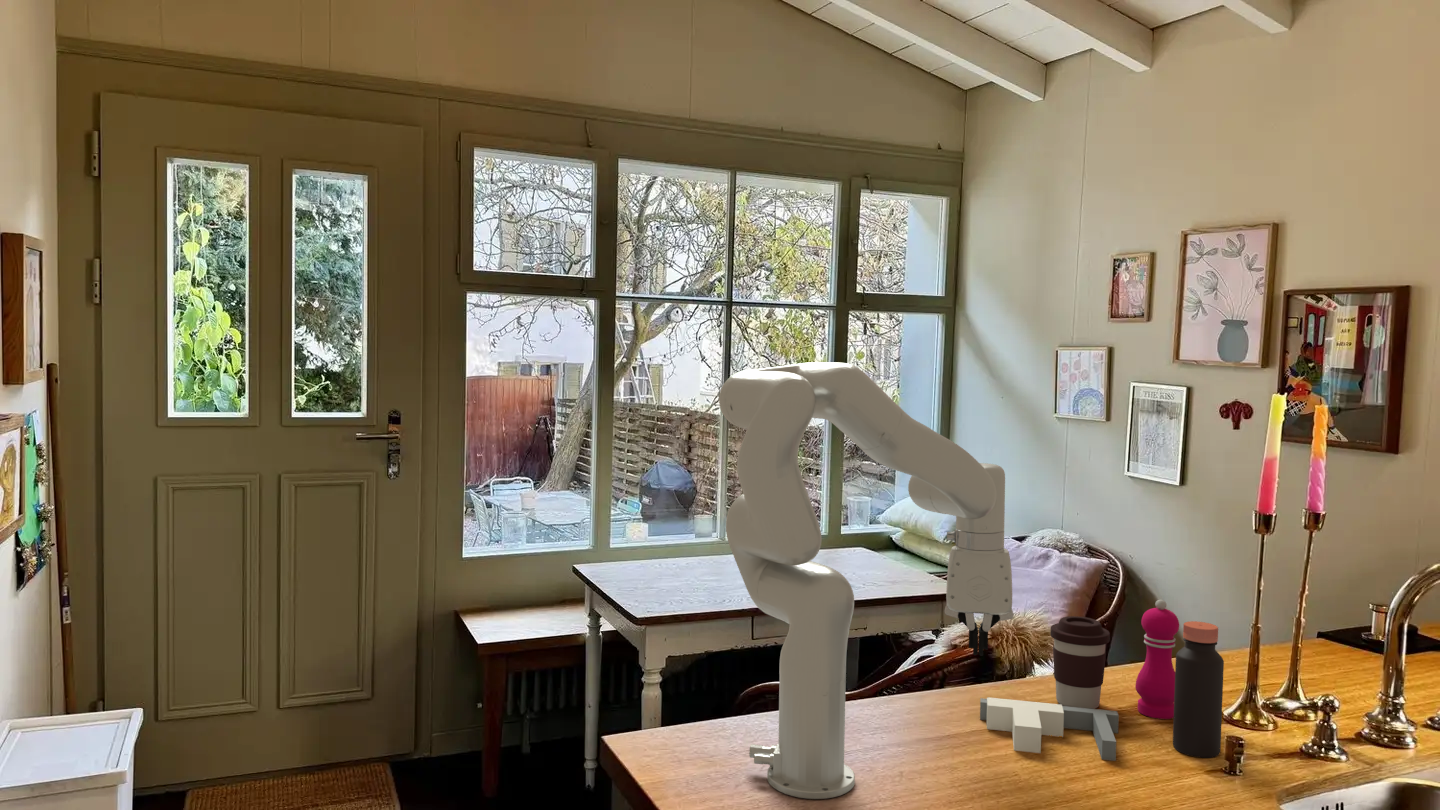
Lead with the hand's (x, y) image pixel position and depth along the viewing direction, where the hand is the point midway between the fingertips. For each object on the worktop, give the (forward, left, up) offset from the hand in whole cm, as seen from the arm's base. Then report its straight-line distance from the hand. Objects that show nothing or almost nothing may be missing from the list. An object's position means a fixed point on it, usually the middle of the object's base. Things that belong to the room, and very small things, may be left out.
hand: (978, 652), depth 158 cm
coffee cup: (+18, +21, -14) cm, 31 cm away
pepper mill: (+31, +20, -14) cm, 39 cm away
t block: (+8, +2, -14) cm, 16 cm away
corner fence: (+12, +3, -14) cm, 19 cm away
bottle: (+34, +4, -14) cm, 37 cm away
